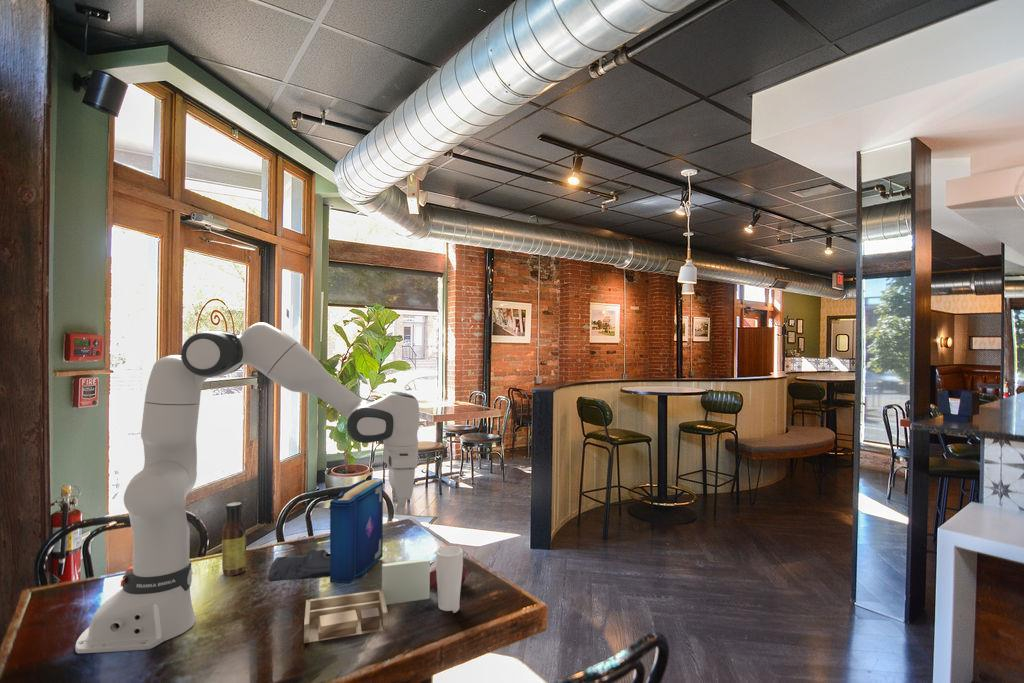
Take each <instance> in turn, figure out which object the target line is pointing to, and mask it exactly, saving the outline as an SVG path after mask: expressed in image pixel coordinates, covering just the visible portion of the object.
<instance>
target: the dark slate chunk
mask: <svg viewBox="0 0 1024 683" xmlns="http://www.w3.org/2000/svg"><path fill="white" fill-rule="evenodd" d="M267 577H268V579H269V582H275V581H277V582H278V581H290V580H291V581H292V580H304V579H306V580H307V579H317V578H326V577H327V578H328V577H329V578H330V552H329V553H328V551H326V549H320V550H316V549H310V550H309V551H307V553H306V554H304V555H303V554H302V555H295V556H293V555H292V556H288V555H287V556H277V557H276V558H275V559H274V560H273V562H272V564H271V565H270V568H269V571H268V576H267Z"/></svg>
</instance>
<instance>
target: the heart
mask: <svg viewBox="0 0 1024 683" xmlns="http://www.w3.org/2000/svg"><path fill="white" fill-rule="evenodd" d="M468 577H469V569H468V568H467V566H466V565H465V563H464V562H463V570H462V580H461V586H463V585H464V584H465V582H466V581H467V580H468ZM430 588H431V589H432V590H435V589H436V590H438V589H437V575H436V559H435V560H433V561H431V562H430Z"/></svg>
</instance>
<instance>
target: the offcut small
mask: <svg viewBox="0 0 1024 683" xmlns="http://www.w3.org/2000/svg"><path fill="white" fill-rule="evenodd" d="M379 624H380V615H379V610H378V608H372V609H365V610H361V631H368V630H374V629H379Z"/></svg>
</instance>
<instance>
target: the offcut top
mask: <svg viewBox="0 0 1024 683" xmlns="http://www.w3.org/2000/svg"><path fill="white" fill-rule="evenodd" d="M319 623H320V631H321V633H326V632H331V631H336V630H342V629H347V628H352V627H357V626H358V618H357V614H356V610H351V611H345V612H339V613H334V614H328V615H322V616H320V619H319Z"/></svg>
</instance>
